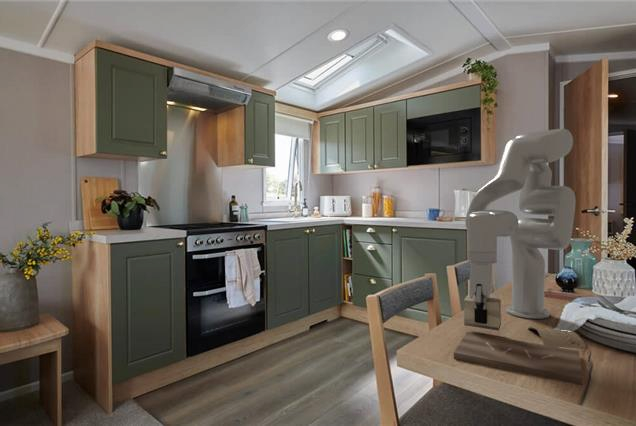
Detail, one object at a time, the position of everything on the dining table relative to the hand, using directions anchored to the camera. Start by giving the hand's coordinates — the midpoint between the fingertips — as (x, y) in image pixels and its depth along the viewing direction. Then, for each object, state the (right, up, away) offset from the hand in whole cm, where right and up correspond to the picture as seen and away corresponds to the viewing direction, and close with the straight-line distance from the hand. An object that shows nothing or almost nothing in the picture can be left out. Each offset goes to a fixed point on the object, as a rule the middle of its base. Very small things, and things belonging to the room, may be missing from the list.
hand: (482, 319), depth 110 cm
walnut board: (+1, -5, -16) cm, 17 cm away
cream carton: (0, -2, 0) cm, 2 cm away
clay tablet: (+18, -5, -4) cm, 19 cm away
